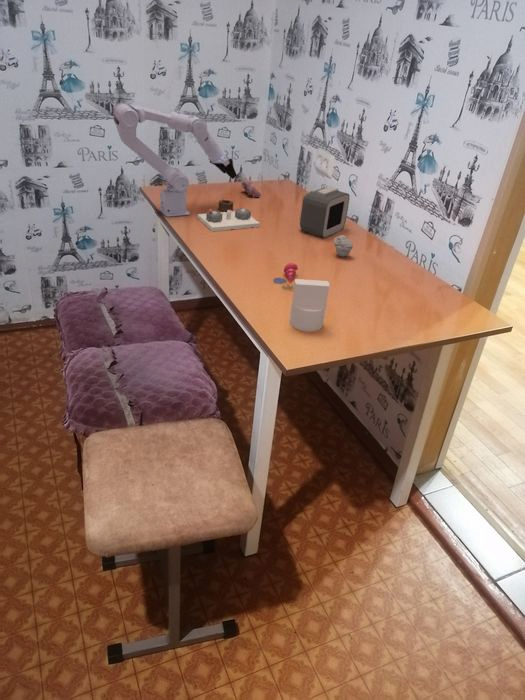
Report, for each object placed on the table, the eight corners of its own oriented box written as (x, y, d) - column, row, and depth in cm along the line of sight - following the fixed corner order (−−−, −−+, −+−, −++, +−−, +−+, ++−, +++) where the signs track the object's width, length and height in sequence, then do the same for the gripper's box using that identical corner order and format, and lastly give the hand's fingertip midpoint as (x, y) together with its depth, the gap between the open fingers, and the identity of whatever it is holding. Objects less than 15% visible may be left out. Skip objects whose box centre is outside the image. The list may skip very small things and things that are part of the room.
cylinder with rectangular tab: (320, 315, 157) (327, 276, 150) (324, 332, 149) (331, 291, 143) (288, 313, 156) (293, 273, 150) (290, 330, 149) (296, 289, 142)
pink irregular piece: (243, 194, 247) (237, 180, 242) (252, 189, 247) (247, 175, 242) (253, 202, 239) (247, 187, 235) (262, 196, 240) (256, 182, 235)
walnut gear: (221, 212, 220) (222, 204, 219) (215, 207, 224) (216, 200, 223) (235, 211, 223) (235, 203, 221) (229, 206, 227) (229, 199, 225)
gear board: (212, 231, 202) (212, 216, 199) (197, 218, 213) (197, 203, 210) (259, 226, 211) (260, 212, 208) (243, 214, 221) (244, 200, 218)
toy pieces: (266, 275, 176) (267, 262, 174) (299, 273, 180) (301, 260, 178) (279, 293, 167) (281, 279, 165) (314, 290, 171) (316, 277, 168)
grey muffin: (335, 250, 198) (339, 231, 194) (354, 256, 195) (357, 236, 192) (328, 255, 194) (331, 236, 190) (347, 261, 191) (350, 241, 187)
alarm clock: (321, 240, 205) (328, 197, 197) (295, 231, 211) (301, 189, 202) (344, 229, 217) (351, 189, 208) (319, 221, 222) (325, 181, 214)
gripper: (226, 143, 203) (246, 172, 212) (210, 134, 213) (230, 162, 222) (211, 156, 203) (232, 185, 212) (196, 147, 213) (216, 174, 222)
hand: (230, 174), depth 217 cm, fingers open, 7 cm apart
